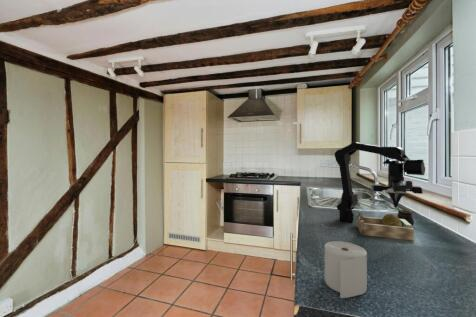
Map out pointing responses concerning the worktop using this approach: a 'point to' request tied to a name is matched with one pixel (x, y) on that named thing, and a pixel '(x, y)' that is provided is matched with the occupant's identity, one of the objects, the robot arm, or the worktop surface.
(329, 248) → the toilet tissue
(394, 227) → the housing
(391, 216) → the potato
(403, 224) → the pale green block
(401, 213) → the mate gourd
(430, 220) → the worktop surface
